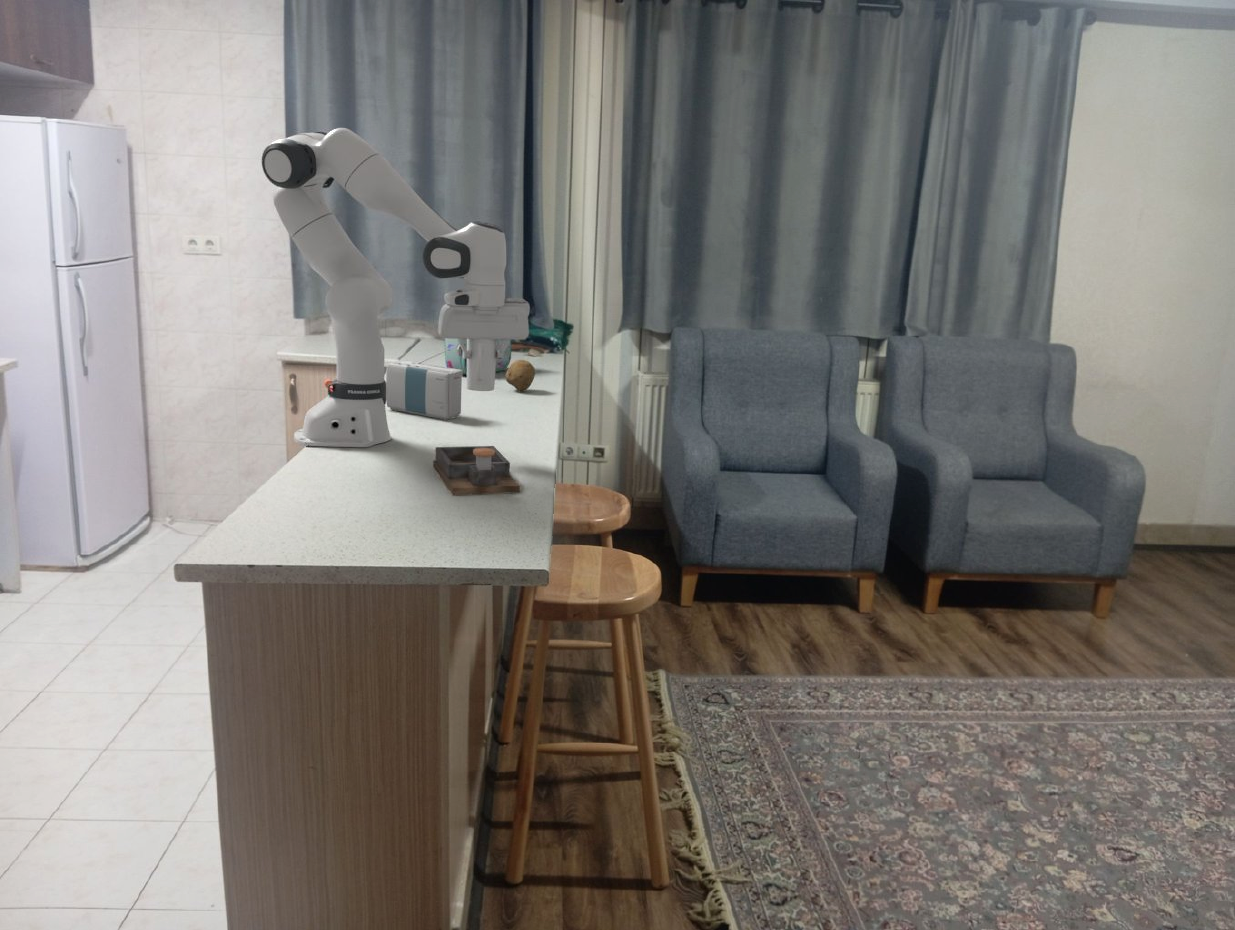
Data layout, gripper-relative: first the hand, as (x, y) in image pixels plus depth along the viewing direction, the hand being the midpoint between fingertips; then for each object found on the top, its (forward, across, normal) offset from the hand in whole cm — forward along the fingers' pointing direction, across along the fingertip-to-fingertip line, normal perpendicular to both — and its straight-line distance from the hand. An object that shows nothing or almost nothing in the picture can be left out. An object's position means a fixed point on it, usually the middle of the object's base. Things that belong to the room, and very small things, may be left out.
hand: (483, 358), depth 229 cm
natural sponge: (+23, -31, -78) cm, 87 cm away
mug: (+7, 0, 0) cm, 7 cm away
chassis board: (+23, +5, +18) cm, 30 cm away
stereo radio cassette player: (+23, +4, -48) cm, 53 cm away
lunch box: (+23, -25, -112) cm, 117 cm away
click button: (+19, +5, +26) cm, 33 cm away
